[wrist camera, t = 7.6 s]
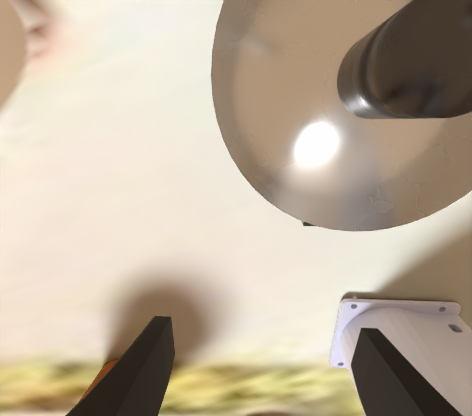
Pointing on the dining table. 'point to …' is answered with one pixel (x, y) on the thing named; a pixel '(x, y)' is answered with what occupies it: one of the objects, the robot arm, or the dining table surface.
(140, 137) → the dining table surface
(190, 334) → the dining table surface
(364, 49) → the lid
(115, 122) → the dining table surface
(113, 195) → the dining table surface
